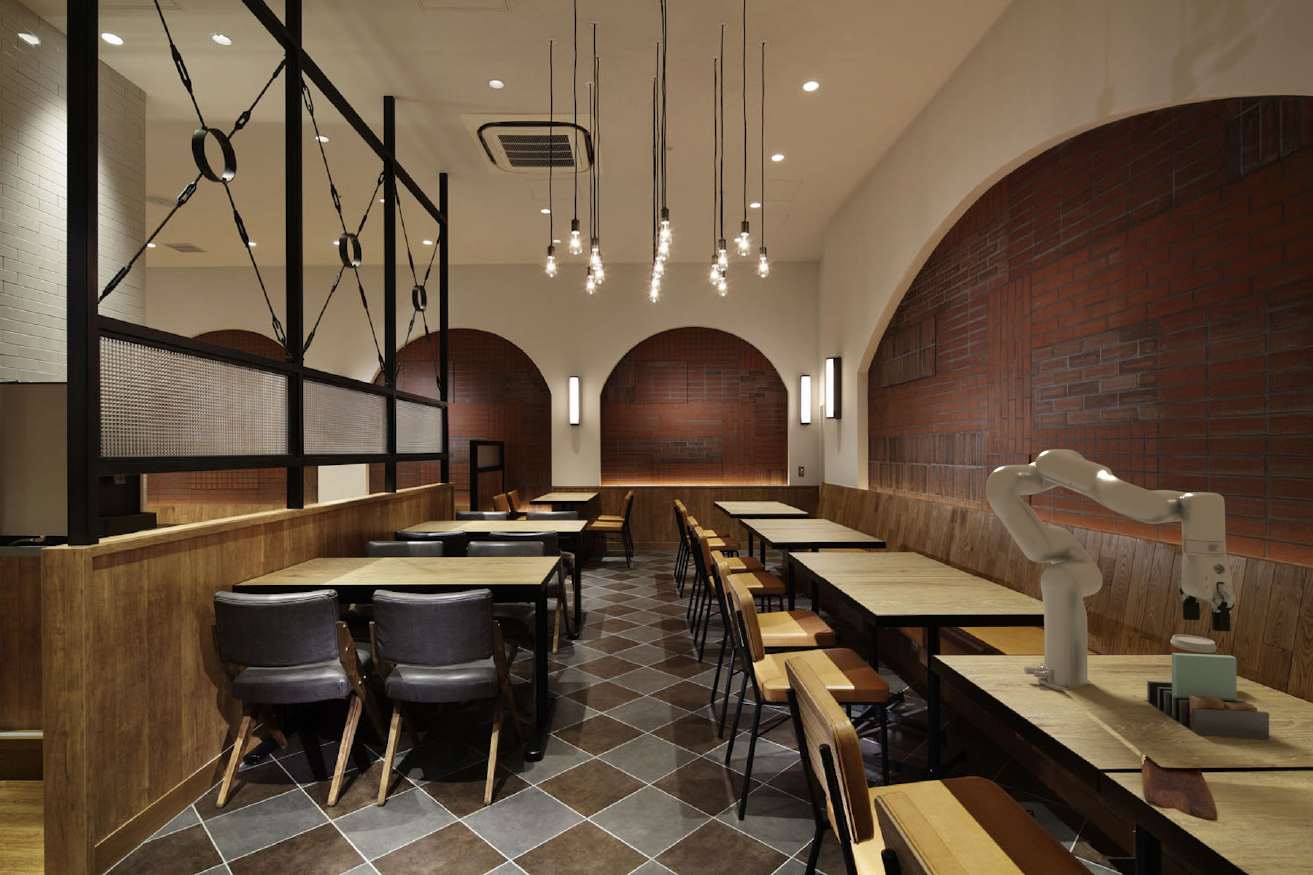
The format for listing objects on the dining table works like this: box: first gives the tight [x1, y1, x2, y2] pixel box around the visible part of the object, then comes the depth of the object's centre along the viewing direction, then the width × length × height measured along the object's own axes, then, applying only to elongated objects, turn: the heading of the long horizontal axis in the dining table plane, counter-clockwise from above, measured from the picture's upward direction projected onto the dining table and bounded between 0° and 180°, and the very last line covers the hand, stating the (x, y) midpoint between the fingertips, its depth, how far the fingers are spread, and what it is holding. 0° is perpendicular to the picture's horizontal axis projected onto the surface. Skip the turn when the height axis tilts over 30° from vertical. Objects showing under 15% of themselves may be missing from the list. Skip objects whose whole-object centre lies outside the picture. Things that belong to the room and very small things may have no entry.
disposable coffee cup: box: [1170, 634, 1218, 655], centre depth 172 cm, size 10×10×12 cm
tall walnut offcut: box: [1190, 696, 1223, 727], centre depth 142 cm, size 5×2×6 cm, turn 82°
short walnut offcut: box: [1223, 702, 1258, 711], centre depth 141 cm, size 5×2×6 cm, turn 82°
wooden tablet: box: [1141, 755, 1217, 821], centre depth 122 cm, size 26×2×10 cm
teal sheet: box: [1171, 652, 1238, 716], centre depth 147 cm, size 12×2×14 cm, turn 82°
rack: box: [1143, 680, 1275, 741], centre depth 147 cm, size 14×20×6 cm
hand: (1205, 625), depth 147 cm, fingers open, 9 cm apart
